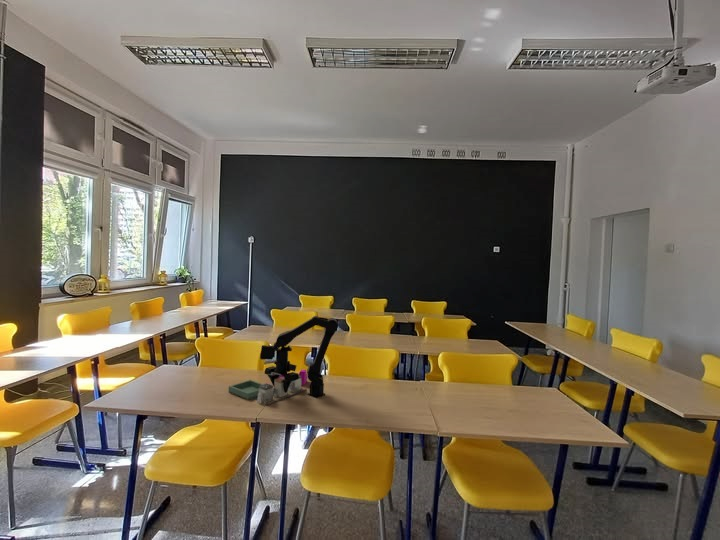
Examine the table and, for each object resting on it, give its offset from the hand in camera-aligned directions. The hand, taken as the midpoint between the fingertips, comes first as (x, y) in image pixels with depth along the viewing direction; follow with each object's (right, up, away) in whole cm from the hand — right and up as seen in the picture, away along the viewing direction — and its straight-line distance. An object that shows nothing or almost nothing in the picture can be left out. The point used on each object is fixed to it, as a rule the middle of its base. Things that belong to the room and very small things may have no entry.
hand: (280, 390), depth 178 cm
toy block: (+2, -2, +19) cm, 19 cm away
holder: (0, -2, 0) cm, 2 cm away
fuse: (0, -2, 0) cm, 2 cm away
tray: (-16, -1, +2) cm, 16 cm away
